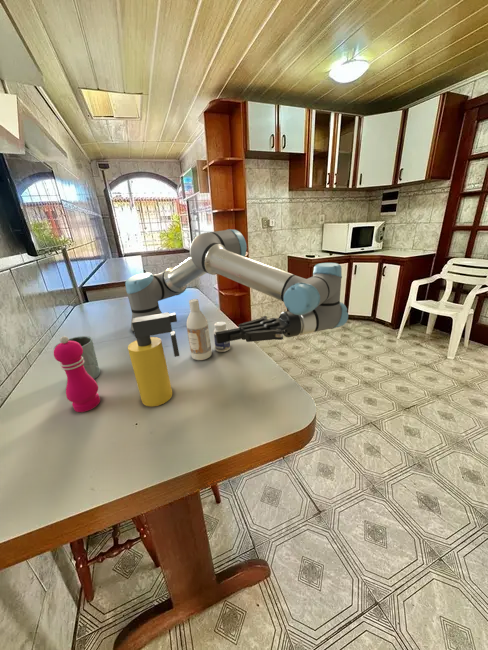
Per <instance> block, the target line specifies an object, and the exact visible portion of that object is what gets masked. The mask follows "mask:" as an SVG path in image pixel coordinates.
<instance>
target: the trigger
mask: <svg viewBox="0 0 488 650" xmlns="http://www.w3.org/2000/svg"><path fill="white" fill-rule="evenodd" d="M169 333H170V339H171V340H170V341H171V344H172V350H173V356H174V357H175V358H176V357H180V351H179V346H178V345H179V344H178V340H177V334H176V331H175V330H172V332H169Z"/></svg>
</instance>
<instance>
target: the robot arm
mask: <svg viewBox="0 0 488 650" xmlns="http://www.w3.org/2000/svg"><path fill="white" fill-rule="evenodd" d="M247 249H248V248H247V242H246V239H245V236H244V235H243V234H242V233H241V231H239V230H238V229H231V228H228V229H224V230H223V229H222V230H217V231H208V232H203V233H200V234H198V235H197V236H195V238H193V240H192V241H191V243H190V247H189V255H190V257H188V258H187V259H185V260H184V261H183V262H181V263H179V265H176V266H171V267H168V268H167V269H165V270H163V271H162V272H160V273H156V274H152V273H151V272H143V273H138V274H135V275H133V276H131V277H128V278H127V279H126V281H125V282H124V284H125V292H126V294H127V299H128V303H129V306H130V310H131V319H130V320H131V321H130V329H131V332H132V333H134V330H133V326H132V320H133V318H136V317H142V316H148V315H155V314H161V313H163V312H162V311H161V309H160V304H159V302H160V301H163V300H166V299H169V298H172V297H176V296H180V295H181V294H183V293H184V292H185V291H186V290H187V287H188V285H189V284H190V283H192V282H194V281H195V280H197V279H199V278H201V277H202V276H204V275H205V274H209V275H212V276H215V275H220V276H222V277H224V278H226V279H229V280H231V281H234V282H236V283H238V284H241V285H243V286H246V287H247V288H250V289H252V290H255V291H257V292H259V293H261V294H264V295H266V296H269V297H271V298H274V299H276V300H278V301H280V302H283V303H284V307H285V308H286V309H287V310H285V311H282V312H281V313H280V314H279V316H278V317H271V318H268V317H267V316H265V315H263V316H262V317H259V318H257V319H252V320H249V321H245V322H243V323H239V324H238V327H236V328H231V329H228V330H225V331H220V332H216V340H217V343H223V342H228V341H230V342H232V341H238V340H243V341H245V342H246V343H252V342H253V343H254V342H263V341H272V340H273V341H274V340H275V341H276V340H277V341H282V340H284V337H285V338H293V337H298V336H302V335H308V334H313V333H316V332H321V331H325V330H333V329H336V328H340V327H343V326H345V325H346V323H348V320H349V313H348V308H347V306H346V304H345V303H343V302H341V290H342V278H343V274H342V272H343V270H342V266H341V264H339V263H337V262H321V263H316V264H315V265H314V266H313V272H312V276H310V277H308V278H304V277H301V276H298V275H295V274H293V273H290V272H288V271H286V270H283V269H279V268H277V267H274V266H272V265H268V264H265V263H263V262H260V261H258V260H255V259H252V258H251V257H250V258H249V257H246V254H247Z"/></svg>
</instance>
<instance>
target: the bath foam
mask: <svg viewBox="0 0 488 650" xmlns="http://www.w3.org/2000/svg"><path fill="white" fill-rule="evenodd" d="M188 303H189V310H190V311H189V314H188V316H187V317H186V318H187V319H186V330H187V331H186V332H187V338H188V343H189V350H190V355H191V358H192V359H193V360H195V361H204V360H208V359H209V358H210V357H211V356H212V354H213V352H212V344H211V337H210V330H209V329H210V327H209V322H208V320H207V318H206V316H205V314H204V313H203V312H202V311H201V310H200V302H199V299H197V298H193V299H190V300H188Z"/></svg>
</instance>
